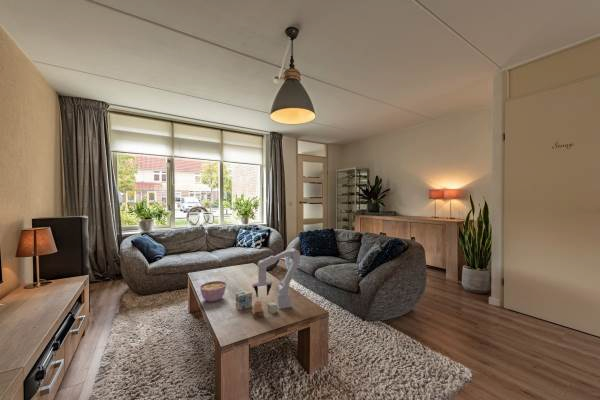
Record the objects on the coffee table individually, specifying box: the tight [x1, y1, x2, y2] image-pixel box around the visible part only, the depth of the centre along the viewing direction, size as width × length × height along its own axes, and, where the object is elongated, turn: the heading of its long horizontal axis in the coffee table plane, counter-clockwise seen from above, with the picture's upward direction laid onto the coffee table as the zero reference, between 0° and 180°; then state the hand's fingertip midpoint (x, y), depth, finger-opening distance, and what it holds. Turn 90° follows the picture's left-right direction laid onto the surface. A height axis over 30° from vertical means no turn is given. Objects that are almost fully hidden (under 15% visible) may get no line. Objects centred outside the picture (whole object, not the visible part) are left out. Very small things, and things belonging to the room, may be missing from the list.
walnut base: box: [251, 308, 265, 319], centre depth 167 cm, size 7×7×4 cm
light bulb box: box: [235, 289, 253, 311], centre depth 180 cm, size 11×7×11 cm, turn 126°
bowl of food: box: [199, 280, 227, 303], centre depth 193 cm, size 20×20×12 cm
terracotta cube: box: [253, 300, 263, 312], centre depth 167 cm, size 5×5×6 cm
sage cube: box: [267, 301, 278, 315], centre depth 172 cm, size 5×5×6 cm
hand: (262, 295), depth 175 cm, fingers open, 7 cm apart
